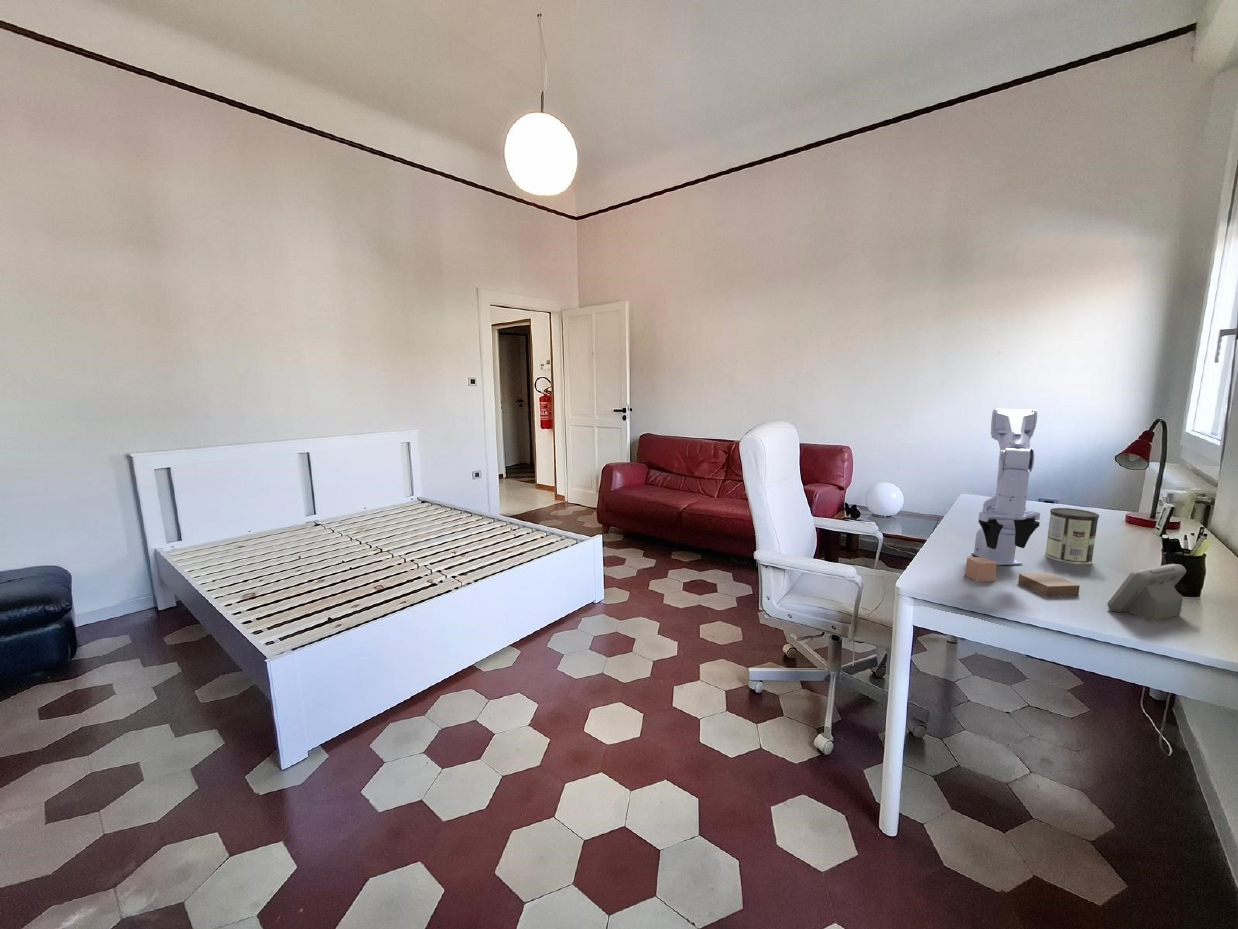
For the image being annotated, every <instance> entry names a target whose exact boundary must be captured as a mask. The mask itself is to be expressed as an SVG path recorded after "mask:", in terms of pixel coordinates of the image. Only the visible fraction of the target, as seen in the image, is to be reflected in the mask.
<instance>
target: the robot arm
mask: <svg viewBox="0 0 1238 929" xmlns="http://www.w3.org/2000/svg"><path fill="white" fill-rule="evenodd" d="M1037 420H1038V410H1036V409H1035V408H1032V409H1028V408H1027V409H1026V408H1025V409H1023V408H1021V409H1020V408H1018V409H1017V408H994V409H993V410H992V414H991V421H990V436H991V439H993V440H995V441H998V446H999V456H998V470H997V478H996V479H997V480H996V489H995V490H996V491H995V495H994V496H992V497H990V498H988V499H986V500H985V501H984V502H983V504H982V510H981V512H978V524H979V526H980V528H978V530H977V532H976V534H975V540H974V541H975V542H974V551H971V553H970V554H971V555H973V556H975V557H984V558H987V559H989V560H991V561H993V562H996V563H997V566H1002V565H1004V566H1007V565H1008V566H1009V565H1023V562H1022V561H1019V560H1017V559H1015V555H1016V549H1017V548H1016V547H1018V548H1021V549H1025V547H1026V545H1027V543H1028V541H1029V539H1030V538H1031V536H1032V534H1033V533H1034V532H1035V531H1036V530H1037V529H1038V527H1040V522H1039V521H1040V517H1041V512H1039V511H1036V510H1027V507H1026V504H1027V503H1026V502H1027V496H1028V488H1029V487H1028V486H1029V479H1030V473H1031V472H1032V471H1033V469H1034V464H1035V450H1034V448H1033V447H1031V439H1032V437H1033V436H1034V433H1035V429H1036V427H1037V422H1038V421H1037Z"/></svg>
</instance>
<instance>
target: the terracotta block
mask: <svg viewBox="0 0 1238 929" xmlns="http://www.w3.org/2000/svg"><path fill="white" fill-rule="evenodd" d="M997 567H998V565H997V563H996V562H993V561H991V560H989V559H987V558H984V557H977V556H975V557H974V556H973V557H972V556H970V557H966V565H965V573H964V575H965V576H966V575H967V576H966V577H968V578H970V579H972V580H974V581H976V582H982V583H983V582H995V581H996V575H997V574H996V573H997Z"/></svg>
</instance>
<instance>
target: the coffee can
mask: <svg viewBox="0 0 1238 929" xmlns="http://www.w3.org/2000/svg"><path fill="white" fill-rule="evenodd" d="M1049 511H1050V513H1049V514H1050V516H1049V520H1048V521H1049V522H1048V531H1047V540H1046V547H1045V553H1044V556H1045V557H1047V558H1048V559H1050V560H1053V561H1055V562H1056V561H1057V562H1061V563H1064V564H1070V565H1080V566H1081V565H1083V566H1086V565H1087V566H1088V565H1092V564H1093V557H1094V556H1093V555H1094V549H1095V542H1096V535H1097V528H1098V521H1099V518H1100V514H1098V513H1096V512H1093V511H1089V510H1085V509H1077V508H1072V507H1071V508H1070V507H1069V508H1068V507H1053V508H1050V509H1049Z"/></svg>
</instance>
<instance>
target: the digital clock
mask: <svg viewBox="0 0 1238 929" xmlns="http://www.w3.org/2000/svg"><path fill="white" fill-rule="evenodd" d="M1186 573H1187V570H1186V568H1185V566H1183V565H1182V564H1178V563H1177V564H1176V563H1168V564H1163V565H1158V566H1154V567H1153V566H1152V567H1147V568H1142V569H1138V570H1137V569H1136V570H1133V571H1131V573H1129V575H1128V576H1127V577H1126V579H1125V580H1124V581H1123V583H1121V585H1120V586H1119V588H1118V589H1117V590H1116V591H1115V593H1114V594H1113V595H1112V596H1111V598H1110V599H1109V600H1108V602H1107V607H1108V609H1109V610H1110V611H1113V612H1118V613H1121V612H1127V613H1130V614H1132V615H1135V616H1139V617H1142V618H1145V619H1147V620H1151V621H1154V622H1155V621H1157V620H1158V621H1159V620H1162V619H1164V620H1165V619H1167V618H1170V617H1176V616H1179V615H1181V612H1182V611H1181V610H1182V606H1183V600H1184V599H1183V597H1184V596H1183V595H1182V594H1181V593H1179V592H1178V591H1177V589H1176V587H1175V586H1176V585H1177V584H1178V583H1179V582H1180V580H1181V579H1182V578H1183V577H1184V576H1185V575H1186Z"/></svg>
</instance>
